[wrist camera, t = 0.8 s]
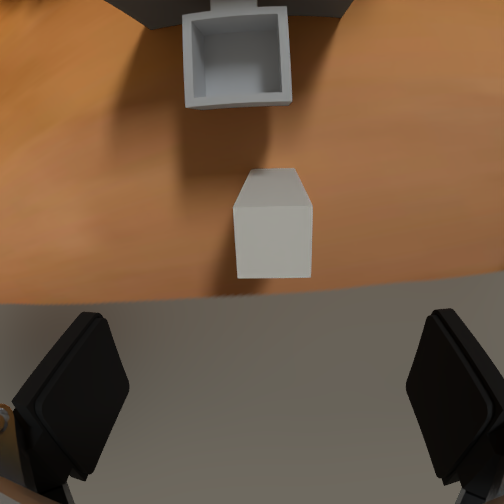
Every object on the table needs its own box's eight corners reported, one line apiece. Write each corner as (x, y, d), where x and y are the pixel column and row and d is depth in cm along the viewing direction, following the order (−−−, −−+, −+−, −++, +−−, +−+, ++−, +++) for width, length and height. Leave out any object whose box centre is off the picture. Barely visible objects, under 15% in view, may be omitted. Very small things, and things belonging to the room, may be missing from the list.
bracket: (334, -35, 20) (362, -99, 9) (347, 109, 26) (393, 102, 15) (152, -22, 21) (98, -73, 10) (154, 118, 27) (87, 120, 16)
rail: (294, 168, 29) (312, 205, 16) (294, 209, 30) (310, 277, 17) (251, 169, 29) (232, 207, 16) (252, 210, 30) (237, 278, 18)
